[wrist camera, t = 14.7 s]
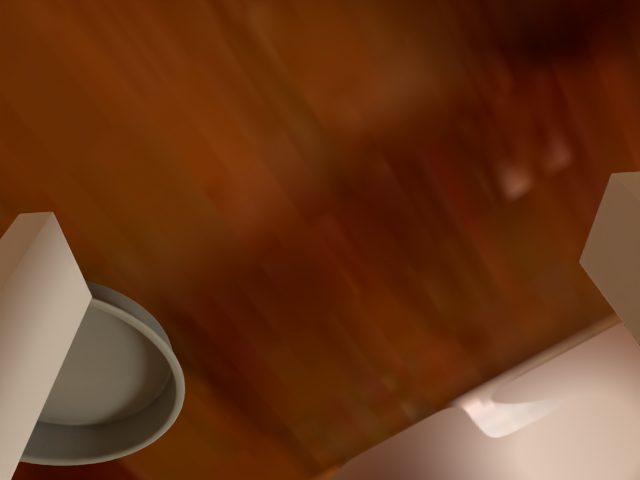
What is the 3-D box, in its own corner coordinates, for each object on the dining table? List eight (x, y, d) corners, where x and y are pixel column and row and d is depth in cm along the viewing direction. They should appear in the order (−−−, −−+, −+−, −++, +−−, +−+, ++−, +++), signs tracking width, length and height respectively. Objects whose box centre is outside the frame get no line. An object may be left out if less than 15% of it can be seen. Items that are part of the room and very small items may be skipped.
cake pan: (125, 227, 43) (113, 257, 39) (222, 399, 57) (220, 434, 53) (-138, 298, 44) (-174, 334, 40) (20, 451, 57) (4, 488, 54)
